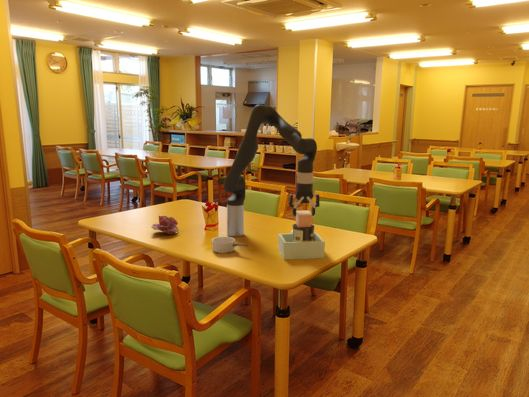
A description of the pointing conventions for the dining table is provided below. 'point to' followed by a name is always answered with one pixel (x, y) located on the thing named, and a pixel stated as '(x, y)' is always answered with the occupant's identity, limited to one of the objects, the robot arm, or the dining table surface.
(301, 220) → the pink block
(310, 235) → the coffee can
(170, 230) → the flower
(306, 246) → the tote
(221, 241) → the saucepan
